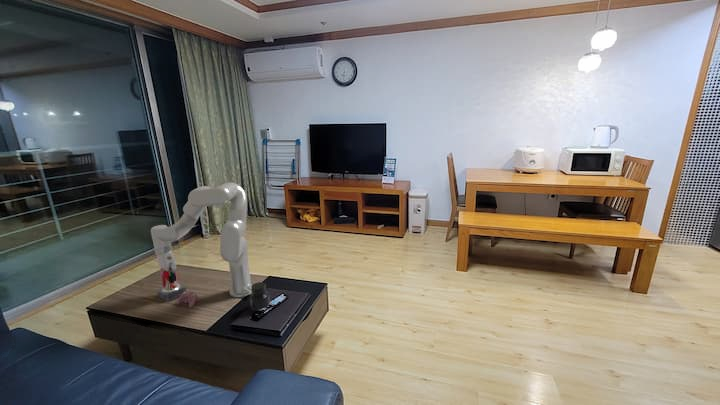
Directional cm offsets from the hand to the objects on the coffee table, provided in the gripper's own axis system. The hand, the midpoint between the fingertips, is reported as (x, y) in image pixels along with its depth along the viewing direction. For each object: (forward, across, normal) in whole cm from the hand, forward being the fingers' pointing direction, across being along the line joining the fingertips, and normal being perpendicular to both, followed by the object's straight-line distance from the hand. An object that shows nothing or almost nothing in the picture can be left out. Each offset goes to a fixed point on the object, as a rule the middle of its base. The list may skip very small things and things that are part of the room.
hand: (169, 279), depth 160 cm
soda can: (+5, 0, 0) cm, 5 cm away
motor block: (+9, +2, 0) cm, 9 cm away
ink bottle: (+10, -50, -19) cm, 54 cm away
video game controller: (+10, -16, 0) cm, 18 cm away
